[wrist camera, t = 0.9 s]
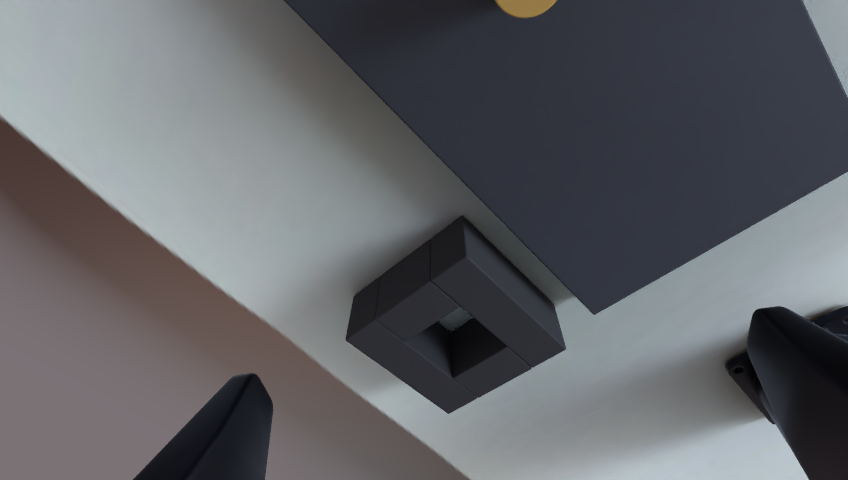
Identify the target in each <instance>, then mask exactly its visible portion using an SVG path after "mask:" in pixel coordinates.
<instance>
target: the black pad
mask: <svg viewBox="0 0 848 480" xmlns="http://www.w3.org/2000/svg"><path fill="white" fill-rule="evenodd" d="M459 306H461V307H462V308H463V309H465V310H466V311H467V312H468V313H469V314H470V315H472V316H473V317H474V319H473V320H471V321H470V322H468V323H466V324H465V325H463V326H462V327H460V328H458V329H457V330H455V331H454V332H452V333H450V332H448V331H447V330H446V329H445V328H443V327H442V326H441V325H440V324H438V323H437V321H438V320H440V319H442V318H443V317H445V316H446V315H448V314H449V313H451V312H452V311H454V310H455V309H457V308H458V307H459ZM346 341H347V342H349V343H350V344H352V345H353V346H354V347H356V348H357V349H359V350H360V351H361V352H363V353H364V354H366V355H367V356H368V357H370V358H371V359H373V360H374V361H375V362H377V363H378V364H380V365H381V366H382V367H384V368H385V369H387V370H388V371H389V372H391V373H392V374H394V375H395V376H396V377H398V378H399V379H401V380H402V381H403V382H405V383H406V384H408V385H409V386H410V387H412V388H413V389H415V390H416V391H417V392H419V393H420V394H421V395H423V396H424V397H426V398H427V399H428V400H430V401H431V402H433V403H434V404H435V405H437V406H438V407H440V408H441V409H442V410H444V411H445V412H447V413H448V414H449V413H451V412H453V411H455V410H457V409H458V408H460V407H462V406H464V405H466V404H467V403H469V402H471V401H473V400H475V399H477V397H478V398H479V397H481V396H482V395H484V394H486V393H488V392H490V391H492V390H493V389H495V388H497V387H499V386H501V385H503V384H504V383H506V382H508V381H510V380H512V379H513V378H515V377H517V376H519V375H521V374H523V373H524V372H526V371H528V370H530V369H531V368H532V367H535V366H536V365H538V364H540V363H542V362H544V361H546V360H547V359H549V358H551V357H553V356H555V355H556V354H558V353H560V352H562V351H564V350H565V349H566V346H565V343H564V339H563V336H562V332H561V328H560V325H559V321H558V318H557V314H556V311H555V307H554V304H553V303H552V302H551V301H550V300H549V299H548V298H547V297H546V296H545V295H544V294H543V293H542V292H541V291H540V290H538V289H537V288H536V287H535V286H534V285H533V284H532V283H531V282H530V281H529V280H528V279H527V278H526V277H525V276H524V275H523V274H522V273H521V272H520V271H519V270H518V269H517V268H516V267H515V266H514V265H513V264H512V263H511V262H510V261H509V260H508V259H507V258H506V257H505V256H504V255H503V254H502V253H500V252H499V251H498V250H497V249H496V248H495V247H494V246H493V245H492V244H491V243H490V242H489V241H488V240H487V239H486V238H485V237H484V236H483V235H482V234H481V233H480V232H479V231H478V230H477V229H476V228H475V227H474V226H473V225H472V224H471V223H470V222H469V221H468V220H467V219H466V218H465V217H463V216H461V217H460V218H459V219H457V220H456V221H455V222H453V223H452V224H451V225H449V226H448V227H447V228H445V229H444V230H443V231H441V232H440V233H438V234H437V235H436V236H434V237H433V238H432V239H431V240H429V241H427V242H426V243H425V244H423V245H422V246H421V247H419V248H418V249H417V250H415V251H414V252H413V253H411V254H410V255H409V256H407V257H406V258H405V259H403V260H402V261H400V262H399V263H398V264H396V265H395V266H394V267H392V268H391V269H390V270H388V271H387V272H386V273H384V274H383V275H382V276H381V277H379V278H377V279H376V280H375V281H373V282H372V283H371V284H369V285H368V286H367V287H365V288H364V289H363V290H361V291H360V292H359V293H357V294H356V295H355V296H354V298H353V303H352V308H351V314H350V319H349V324H348V329H347V335H346Z"/></svg>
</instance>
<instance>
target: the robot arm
mask: <svg viewBox="0 0 848 480" xmlns="http://www.w3.org/2000/svg"><path fill="white" fill-rule="evenodd" d="M747 351H748V352H746V353H744V354H742V355H740V356H738V357H735V358H733V359H731V360H730V361H728V362H727V363H726V365H725V368H726V370H727V371H728V373H729V375H730V376H731V377H732V378H733V379H734V380H735V382H736V383H737V384H738V385H739V386H740V387H741V389H742V390H743V391H744V392H745V393H746V394H747V396H748V397H749V398H750V399H751V400H752V401H753V403H754V404H755V405H756V406H757V407H758V408H759V409H760V411H761V412H762V413H763V414H764V415H765V416H766V418H767V419H768V420H769V421H770V422H771V423H772V424H776V426H777V427H778V429H779V430H780V432H781V434H782V435H783V437H784V438H785V440H786V442H787V443H788V445H789V446H790V448H791V450H792V451H793V453H794V454H795V456H796V458H797V460H798V461H799V463H800V465H801V467H802V468H803V470H804V472H805V473H806V475H807V477H808V479H809V480H848V306H845V307H842V308H840V309H838V310H836V311H834V312H831V313H829V314H827V315H825V316H823V317H821V318H819V319H816V320H814V321H812V322H810V321H809V320H807V319H805V318H803V317H801V316H800V315H798V314H796V313H794V312H792V311H791V310H789V309H787V308H784V307H780V306H778V307H769V308H761V309H757V310H756V311H755V312H754V313H753V315H752V320H751V324H750V329H749V334H748V338H747ZM272 416H273V403H272V400H271V398H270V396H269V394H268V392H267V391H266V389H265V387H264V385H263V384H262V382H261V380H260V378H259V377H258V376H257V375H256V374H254V373H248V374H241V375H236V376H233V377H232V378H231V379H230V380H229V381H228V382H227V383H226V384H225V385H224V386H223V387H222V388H221V389H220V390H219V391H218V392H217V393H216V394H215V395H214V396H213V397H212V398H211V399H210V401H209V402H208V403H207V404H206V405H205V406H204V407H203V408H202V409H201V410H200V411H199V412H198V413H197V414H196V415H195V416H194V417H193V418H192V419H191V420H190V421H189V422H188V423H187V424H186V425H185V426H184V427H183V428H182V429H181V431H179V433H178V434H177V435H176V436H175V437H174V438H173V439H172V440H171V441H170V442H169V443H168V444H167V445H166V446H165V447H164V448H163V449H162V450H161V451H160V452H159V453H158V454H157V455H156V456H155V457H154V459H152V460H151V461H150V463H149V464H148V465H147V466H146V467H145V468H144V469H143V470H142V471H141V472H140V473H139V474H138V475H137V476H136V477H135V478H134V479H133V480H265V473H266V465H267V457H268V448H269V440H270V432H271V423H272Z"/></svg>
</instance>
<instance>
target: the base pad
mask: <svg viewBox="0 0 848 480" xmlns="http://www.w3.org/2000/svg"><path fill="white" fill-rule="evenodd" d="M284 1H285V2H286V3H287V4H288V5H289V6H290V7H291V8H292V9H293V10H294V11H295V12H296V13H297V14H298V15H299V16H300V17H301V18H302V19H303V20H304V21H305V22H306V23H307V24H308V25H309V26H310V27H311V28H312V29H313V30H314V31H315V32H316V33H317V34H318V35H319V36H320V37H321V38H322V39H323V40H324V41H325V42H326V43H327V44H328V45H329V46H330V47H331V48H332V49H333V50H334V51H335V52H336V53H337V55H338V56H339V57H340V58H341V59H342V60H343V61H344V62H345V63H346V64H347V65H348V66H349V67H350V68H351V69H352V70H353V71H354V72H355V73H356V74H357V75H358V76H359V77H360V78H361V79H362V80H363V81H364V82H365V83H366V84H367V85H368V86H369V87H370V88H371V89H372V90H373V91H374V92H375V93H376V94H377V95H378V96H379V97H380V98H381V99H382V100H383V101H384V102H385V103H386V104H387V105H388V106H389V107H390V108H391V109H392V110H393V111H394V112H395V113H396V114H397V115H398V116H399V117H400V119H401V120H402V121H403V122H404V123H405V124H406V125H407V126H408V127H409V128H410V129H411V130H412V131H413V132H414V133H415V134H416V135H417V136H418V137H419V138H420V139H421V140H422V141H423V142H424V143H425V144H426V145H427V146H428V147H429V148H430V149H431V150H432V151H433V152H434V153H435V154H436V155H437V156H438V157H439V158H440V159H441V160H442V161H443V162H444V163H445V164H446V165H447V166H448V167H449V168H450V169H451V170H452V171H453V172H454V173H455V174H456V175H457V176H458V177H459V178H460V179H461V180H462V181H463V183H464V184H465V185H466V186H467V187H468V188H469V189H470V190H471V191H472V192H473V193H474V194H475V195H476V196H477V197H478V198H479V199H480V200H481V201H482V202H483V203H484V204H485V205H486V206H487V207H488V208H489V209H490V210H491V211H492V212H493V213H494V214H495V215H496V216H497V217H498V218H499V219H500V220H501V221H502V222H503V223H504V224H505V225H506V226H507V227H508V228H509V229H510V230H511V231H512V232H513V233H514V234H515V235H516V236H517V237H518V238H519V239H520V240H521V241H522V242H523V243H524V244H525V245H526V247H527V248H528V249H529V250H530V251H531V252H532V253H533V254H534V255H535V256H536V257H537V258H538V259H539V260H540V261H541V262H542V263H543V264H544V265H545V266H546V267H547V268H548V269H549V270H550V271H551V272H552V273H553V274H554V275H555V276H556V277H557V278H558V279H559V280H560V281H561V282H562V283H563V284H564V285H565V286H566V287H567V288H568V289H569V290H570V291H571V292H572V293H573V294H574V295H575V296H576V297H577V298H578V299H579V300H580V301H581V302H582V303H583V304H584V305H585V306H586V307H587V308H588V309H589V311H590V312H591V313H592V314H594V315H595V314H597V313H598V312H600V311H602V310H604V309H606V308H607V307H609V306H611V305H613V304H614V303H616V302H618V301H620V300H621V299H623V298H625V297H627V296H628V295H630V294H632V293H634V292H636V291H637V290H639V289H641V288H643V287H644V286H646V285H648V284H650V283H651V282H653V281H655V280H657V279H659V278H660V277H662V276H664V275H666V274H667V273H669V272H671V271H673V270H674V269H676V268H678V267H680V266H682V265H683V264H685V263H687V262H689V261H690V260H692V259H694V258H696V257H697V256H699V255H701V254H703V253H705V252H706V251H708V250H710V249H712V248H713V247H715V246H717V245H719V244H720V243H722V242H724V241H726V240H728V239H729V238H731V237H733V236H735V235H736V234H738V233H740V232H742V231H743V230H745V229H747V228H749V227H750V226H752V225H754V224H756V223H758V222H759V221H761V220H763V219H765V218H766V217H768V216H770V215H772V214H773V213H775V212H777V211H779V210H781V209H782V208H784V207H786V206H788V205H789V204H791V203H793V202H795V201H796V200H798V199H800V198H802V197H804V196H805V195H807V194H809V193H811V192H812V191H814V190H816V189H818V188H819V187H821V186H823V185H825V184H827V183H828V182H830V181H832V180H834V179H835V178H837V177H839V176H841V175H842V174H844V173H846V172H848V97H847V95H846V93H845V91H844V89H843V87H842V85H841V82H840V80H839V78H838V76H837V74H836V72H835V69H834V67H833V65H832V63H831V61H830V59H829V57H828V54H827V52H826V50H825V48H824V46H823V44H822V42H821V39H820V37H819V35H818V33H817V31H816V29H815V27H814V24H813V22H812V20H811V18H810V16H809V14H808V12H807V9H806V7H805V5H804V3H803V1H802V0H284Z"/></svg>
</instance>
